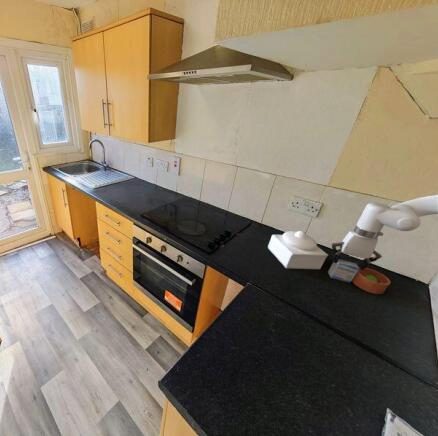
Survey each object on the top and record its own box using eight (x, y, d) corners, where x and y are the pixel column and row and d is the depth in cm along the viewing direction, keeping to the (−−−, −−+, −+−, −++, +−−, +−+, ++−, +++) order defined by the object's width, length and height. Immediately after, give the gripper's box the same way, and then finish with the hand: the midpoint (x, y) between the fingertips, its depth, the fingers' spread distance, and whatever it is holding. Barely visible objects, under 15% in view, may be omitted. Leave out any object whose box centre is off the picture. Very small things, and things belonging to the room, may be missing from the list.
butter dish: (297, 248, 126) (308, 223, 119) (320, 269, 110) (335, 242, 103) (267, 247, 125) (276, 222, 118) (286, 268, 109) (298, 241, 101)
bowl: (377, 282, 104) (384, 272, 101) (387, 298, 95) (395, 288, 92) (347, 274, 108) (353, 264, 105) (354, 289, 99) (361, 278, 96)
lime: (371, 283, 102) (377, 274, 100) (375, 290, 98) (382, 281, 96) (358, 279, 104) (363, 271, 102) (361, 286, 100) (367, 277, 98)
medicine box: (330, 278, 105) (338, 263, 101) (327, 272, 108) (335, 257, 105) (350, 283, 102) (360, 268, 98) (347, 277, 106) (355, 262, 102)
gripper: (388, 233, 94) (368, 266, 101) (338, 223, 100) (323, 254, 108) (397, 241, 88) (375, 276, 95) (342, 230, 94) (326, 263, 102)
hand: (347, 264), depth 102 cm, fingers open, 9 cm apart
